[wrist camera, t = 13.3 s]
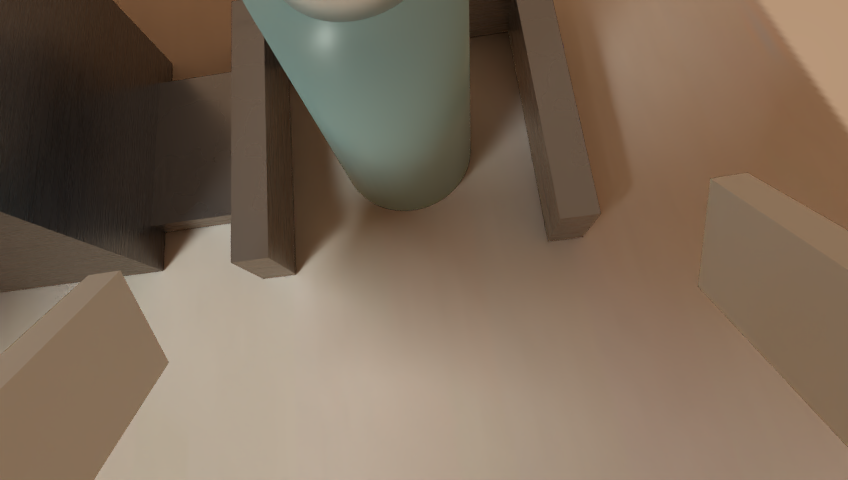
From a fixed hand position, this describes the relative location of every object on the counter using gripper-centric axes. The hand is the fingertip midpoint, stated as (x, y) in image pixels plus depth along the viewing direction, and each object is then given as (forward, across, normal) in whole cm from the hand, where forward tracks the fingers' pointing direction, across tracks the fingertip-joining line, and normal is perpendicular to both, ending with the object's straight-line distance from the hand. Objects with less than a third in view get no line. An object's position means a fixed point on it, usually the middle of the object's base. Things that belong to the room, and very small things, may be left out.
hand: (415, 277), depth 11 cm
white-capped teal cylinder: (+8, 0, 0) cm, 9 cm away
